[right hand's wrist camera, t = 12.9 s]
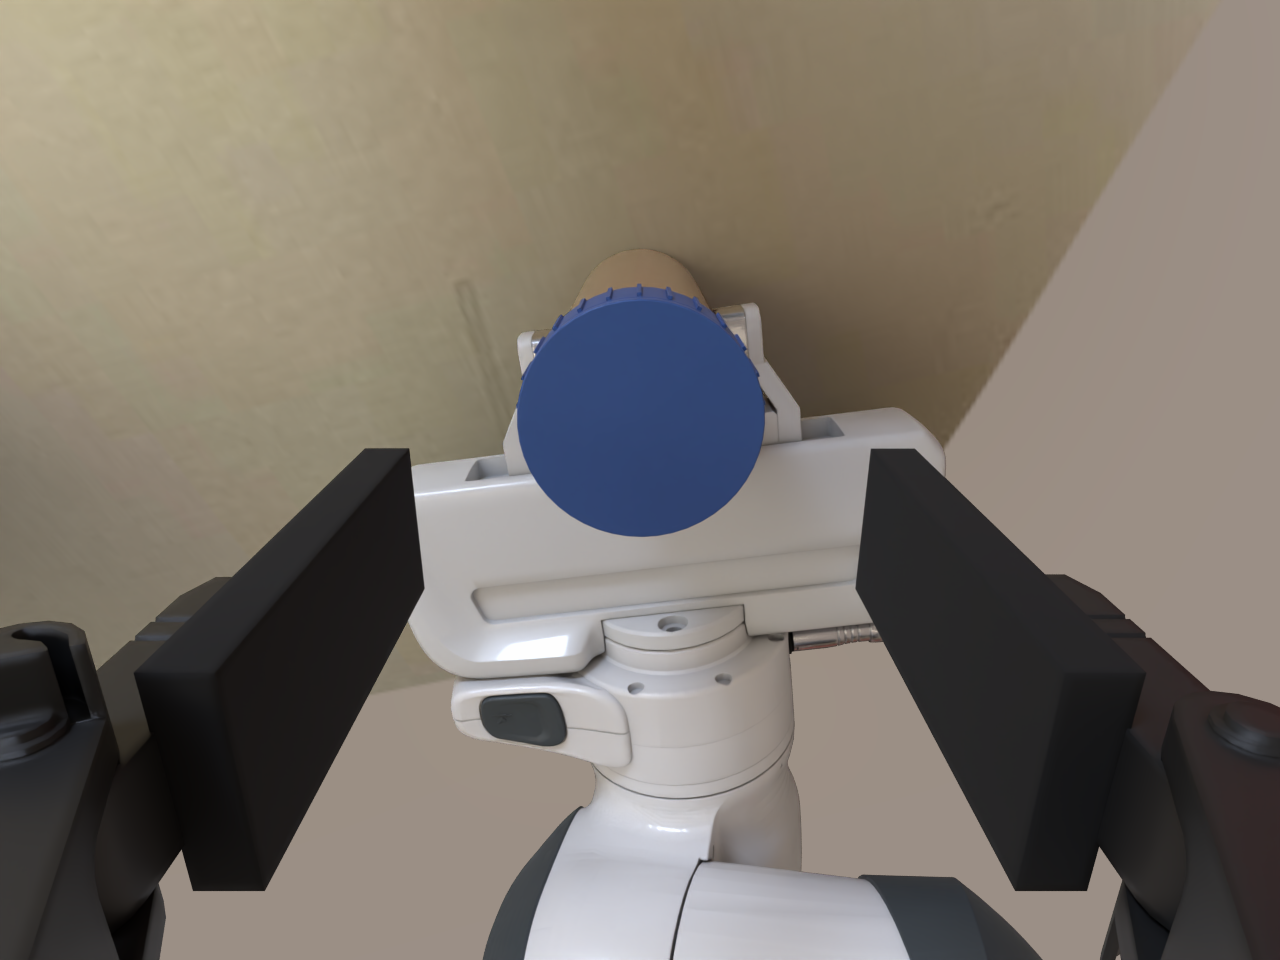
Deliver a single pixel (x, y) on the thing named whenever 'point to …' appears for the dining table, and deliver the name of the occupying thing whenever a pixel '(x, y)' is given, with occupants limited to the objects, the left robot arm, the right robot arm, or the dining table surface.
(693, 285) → the jar
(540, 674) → the left robot arm
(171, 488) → the dining table surface
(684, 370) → the lid
